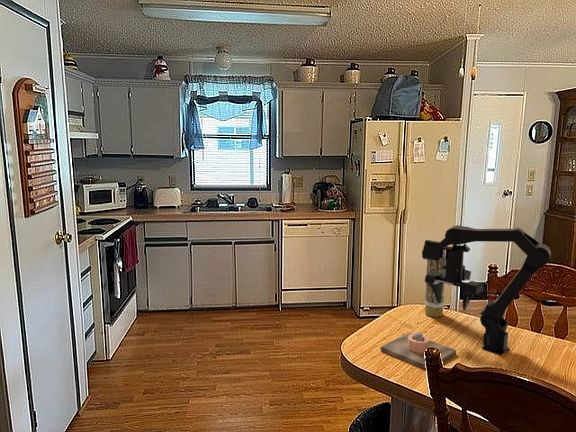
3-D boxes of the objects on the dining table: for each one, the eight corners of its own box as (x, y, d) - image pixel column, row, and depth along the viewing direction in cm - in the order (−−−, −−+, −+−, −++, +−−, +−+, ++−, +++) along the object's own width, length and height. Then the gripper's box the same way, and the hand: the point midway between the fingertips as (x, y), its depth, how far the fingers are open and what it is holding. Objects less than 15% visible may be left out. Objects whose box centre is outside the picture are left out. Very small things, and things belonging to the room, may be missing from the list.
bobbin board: (455, 354, 145) (456, 335, 144) (429, 371, 134) (429, 351, 133) (408, 336, 158) (409, 319, 157) (380, 350, 148) (381, 332, 147)
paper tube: (443, 318, 174) (446, 256, 170) (425, 317, 175) (428, 255, 171) (441, 311, 181) (444, 252, 177) (424, 310, 182) (426, 251, 178)
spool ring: (432, 348, 146) (432, 338, 145) (421, 354, 142) (421, 344, 141) (415, 342, 150) (415, 332, 150) (404, 347, 146) (404, 337, 146)
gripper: (492, 263, 150) (489, 308, 152) (441, 253, 163) (439, 294, 166) (476, 270, 142) (473, 316, 145) (424, 259, 156) (423, 301, 159)
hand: (451, 306), depth 154 cm, fingers open, 9 cm apart
